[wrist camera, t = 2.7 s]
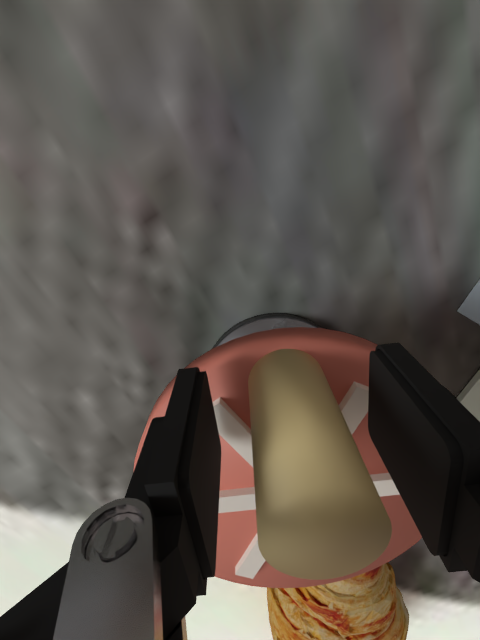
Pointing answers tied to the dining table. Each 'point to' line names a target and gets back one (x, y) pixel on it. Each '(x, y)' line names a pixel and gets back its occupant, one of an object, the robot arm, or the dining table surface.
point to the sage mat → (471, 396)
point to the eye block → (472, 305)
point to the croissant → (341, 609)
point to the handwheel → (298, 460)
